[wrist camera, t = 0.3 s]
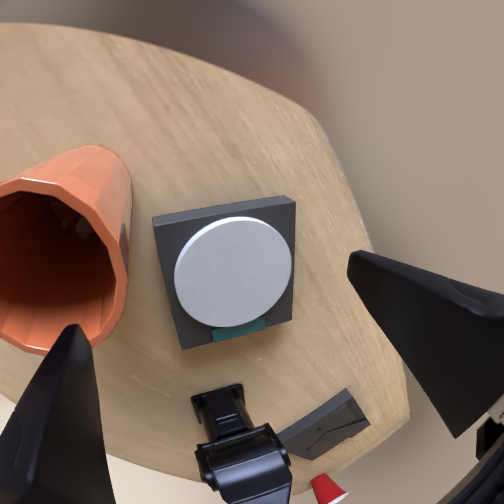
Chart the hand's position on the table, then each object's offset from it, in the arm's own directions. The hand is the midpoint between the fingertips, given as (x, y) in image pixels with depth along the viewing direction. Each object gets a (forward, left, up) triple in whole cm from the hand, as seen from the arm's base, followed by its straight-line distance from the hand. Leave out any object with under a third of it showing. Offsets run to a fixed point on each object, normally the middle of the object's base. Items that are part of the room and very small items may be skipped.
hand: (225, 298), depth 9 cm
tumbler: (+1, +6, -15) cm, 16 cm away
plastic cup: (-94, -26, -15) cm, 98 cm away
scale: (-8, -4, -15) cm, 17 cm away
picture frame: (-49, -20, -15) cm, 55 cm away
